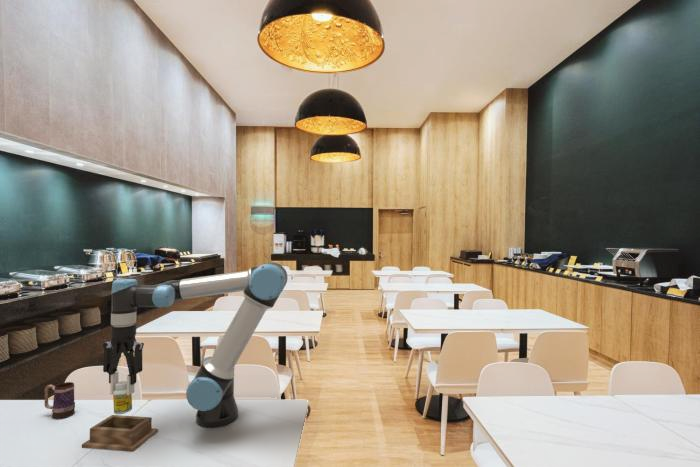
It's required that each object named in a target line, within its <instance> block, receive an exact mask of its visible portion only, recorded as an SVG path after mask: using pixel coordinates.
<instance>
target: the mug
mask: <svg viewBox="0 0 700 467" xmlns="http://www.w3.org/2000/svg"><path fill="white" fill-rule="evenodd" d="M50 388H51V389H52V390H53V400H52V401H53V402H52V403H53V404H52V405H49V389H50ZM52 390H51V391H52ZM43 391H44V392H43V393H44V408H46V409H49V410H51V412H52V413H51V414H52V415H51V418H52V419H54V420H63V419H67V418H69V417H71V416H73V415H74V414H75V409H76V408H75V407H76V402H75V383H74V382H72V381H67V382H62V383H61V382H60V383H58V384H56V385H54V384H48V385H45V388H44V390H43Z"/></svg>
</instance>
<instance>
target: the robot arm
mask: <svg viewBox="0 0 700 467" xmlns="http://www.w3.org/2000/svg"><path fill="white" fill-rule="evenodd" d="M287 283H288V272H287V270H286V269H285V268H284V266H283V265H281V264H279V263H277V262H268V263H264V264H261V265H258V266H251V267H250V268H249V269H248V270H243V271H242V270H241V271H234V272H233V271H232V272H228V273H220V274H213V275H205V276H198V277H191V278H183V279H177V280H174V279H173V280H167V281H165V282H161V283H157V284H143V285H141V284H138V280H137V279H135V278H121V279H116V280H115V279H114V281H113V282H112V283H111V284H112V285H111V292H110V295H111V310H110V325H111V327H110V337H111V339H110V341H109V340H108V341H106V342H103V343H102V347H103V364H102V365H103V367H102V368H103V369H102V370H103V373H107V374H108V383H109V384H110V391H109V392H110V395H113V392H114V391H115V390H116V388H115V384H116V383H118V382H119V372H118V371H119V370H118V366H119V364H120V361H121V360H120V359H121V355H122V353H123V356H124V357H125V360H126V365H127V369H128V374H127V376H126V381H127V395H130V394H133V393H135V384H136V383H137V376H138V375H137V374H138V373H141V372H143V349H144V345H145V344H144V342H138V341H137V339H136V335H137V324H136V323H137V311H138V310H137V308H160V309H161V308H165V307H166V308H167V307H171V306H172V305H173V303H174V302H175V301H181V300H182V301H183V300H187V299H188V300H189V299H193V298H195V299H196V298H202V297H209V296H216V295H224V294H231V293H238V292H243V293H242V294H243V296H244V300H242V302H241V304H240V306H239V308H238V309H237V311H236V313H235V315H234V316H233V318H232V320H231V322H230V324H229V325H228V327H227V329H226V331H225V332H224V334H223V336H222V338H221V339H220V341H219V343H218V344H217V347H216V349H215V350H214V352H213V354H212V355H211V356H207V357H205V358H203V359H202V361H201V366H200V368H199V370H198V371H197V373H195V376H194V377H193V379H192V380H191V381H190V382H189V383H188V387H187V388H186V392H185V396H186V397H185V398H186V399H187V403H188V404H189V405H190V406H191V407H192V408H193V409H195V410H196V411H197V412H196V414H195V415H196V416H195V419H196V420H195V422H196V424H197V425H199V426H200V427H205V428H217V427H222V426H226V425H228V424H231V423H233V422H235V421H236V420H237V419H238V418H239V407H238V405H237V401H236V399H235V398H236V397H235V396H234V395H235V393H234V392H235V391H234V390H235V388H234V387H235V366H236V365H237V363H238V361H239V360H240V358H241V356H242V354H243V353H244V351H245V348H246V347H247V346H248V344H249V341H250V340H251V338H252V337H253V335H254V332H255V331H256V329H257V328H258V326H259V323H260V322H261V320H262V318H264V315H265V313H266V311H267V310H268V309H273V307H274V306H275V304H276V302H277V301H278V299H279V297H280V295H281V294H282V292H283V291H284V289H285V287H286V285H287Z"/></svg>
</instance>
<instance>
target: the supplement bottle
mask: <svg viewBox="0 0 700 467" xmlns="http://www.w3.org/2000/svg"><path fill="white" fill-rule="evenodd" d="M115 388H116V390H115V391H114V392H113V394H112V395H113V414H114V415H124V414H126V413H130V412H131V410H132V409H133V399H132V398H133V396H132V394H133V393H132V394H130V395H127V380H123V381H118V383H116V384H115Z"/></svg>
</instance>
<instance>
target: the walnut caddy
mask: <svg viewBox="0 0 700 467" xmlns="http://www.w3.org/2000/svg"><path fill="white" fill-rule="evenodd" d="M152 418H153V417H152V416H151V417H150V416H135V415H134V416H133V415H123V414H111V415H110V416H109V417H106V418H105V419H103V420H102V421H100V422H98V423H97V424H95V425H93V426H91V427H90V428H89V439H88V440H87V441H85V442H84V443H82V444H81V448H83V449H96V450H107V451H108V450H109V451H119V452H122V451H123V452H134V451H136V450H137V449H138V448H139V447H141V446H142V445H143V444H145V442H147V441H148V440H149V439H151V438H152V437H153V436H154V435H155V434H157V433H158V432H159V428H153V426H152V420H153V419H152Z"/></svg>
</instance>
